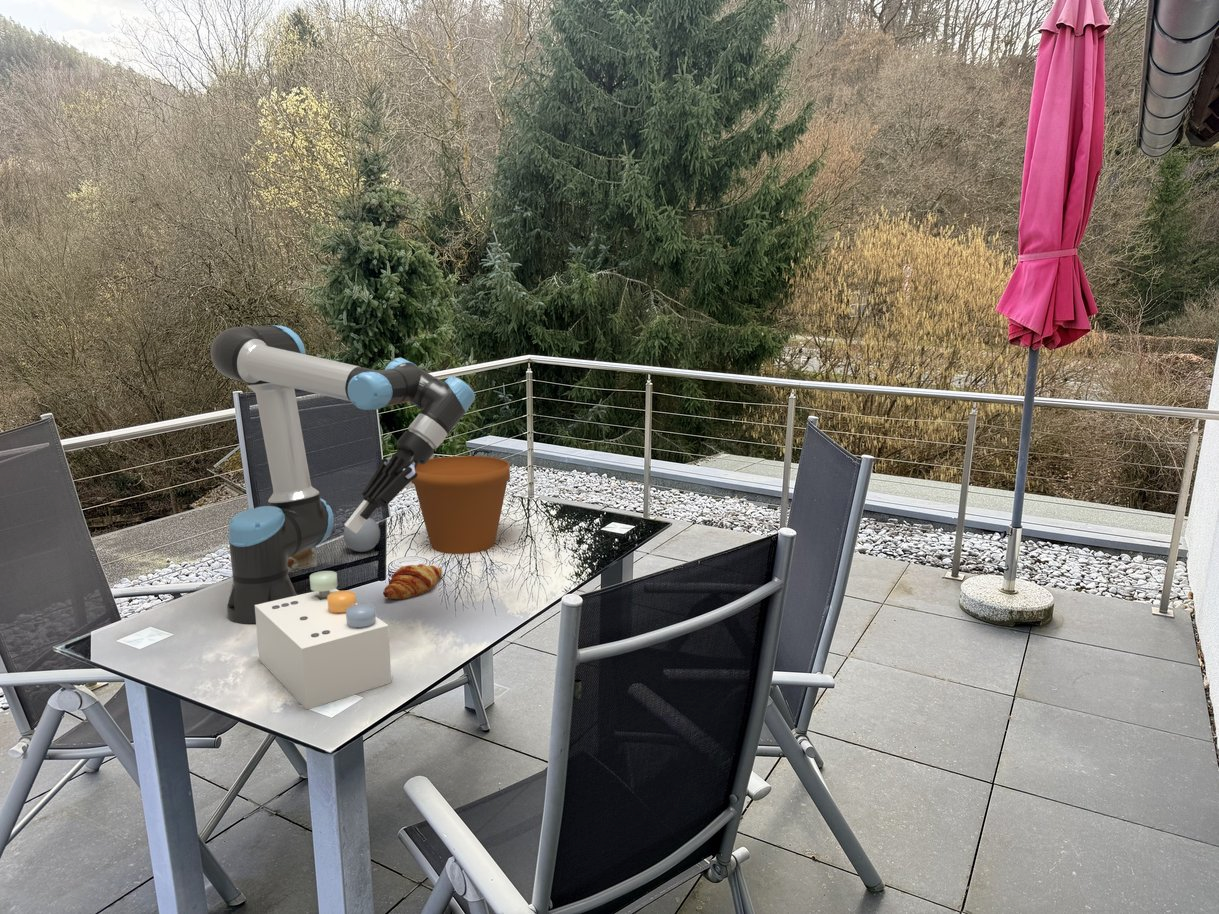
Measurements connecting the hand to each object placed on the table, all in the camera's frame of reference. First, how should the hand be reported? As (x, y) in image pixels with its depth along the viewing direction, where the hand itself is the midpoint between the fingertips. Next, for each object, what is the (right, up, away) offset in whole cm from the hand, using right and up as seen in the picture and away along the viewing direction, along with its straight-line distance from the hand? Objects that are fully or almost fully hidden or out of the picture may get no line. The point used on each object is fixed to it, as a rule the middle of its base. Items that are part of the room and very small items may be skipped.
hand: (350, 529), depth 167 cm
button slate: (+7, -19, -14) cm, 25 cm away
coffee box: (-30, -15, +50) cm, 61 cm away
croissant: (+5, -18, +35) cm, 40 cm away
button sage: (-5, -14, -1) cm, 15 cm away
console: (-3, -27, -8) cm, 28 cm away
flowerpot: (+10, -11, +72) cm, 73 cm away
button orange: (+1, -17, -7) cm, 19 cm away
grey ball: (-17, -12, +65) cm, 68 cm away
